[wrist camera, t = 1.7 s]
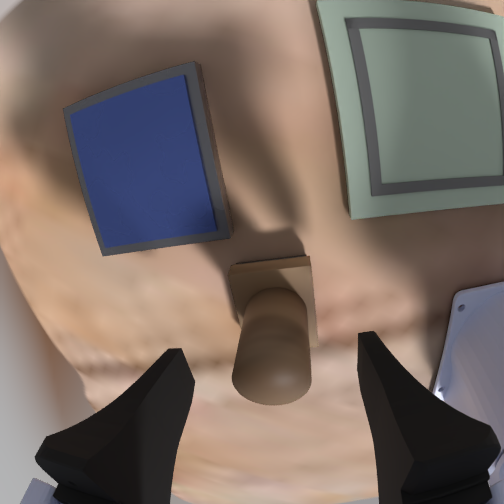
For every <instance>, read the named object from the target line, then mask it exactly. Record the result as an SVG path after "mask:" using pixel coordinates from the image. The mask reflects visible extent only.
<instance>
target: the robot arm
mask: <svg viewBox="0 0 504 504" xmlns="http://www.w3.org/2000/svg"><path fill="white" fill-rule="evenodd" d="M460 305H462V306H461V307H460V308H458V307H459V306H460ZM357 371H358V378H359V384H360V391H361V395H362V399H363V402H364V406H365V410H366V414H367V417H368V421H369V425H370V429H371V433H372V437H373V442H374V450H375V458H376V467H377V478H378V492H379V504H504V282H499V283H495V284H490V285H485V286H480V287H476V288H471V289H466V290H461V291H459V292H457V293H456V295H455V296H454V299H453V304H452V310H451V316H450V321H449V326H448V331H447V336H446V341H445V346H444V350H443V354H442V358H441V362H440V366H439V370H438V374H437V378H436V381H435V385H434V389H433V392H432V393H431V392H430V391H429V390H428V389H426V388H425V387H424V386H423V385H422V384H421V383H419V382H418V381H417V380H416V379H415V378H414V377H413V376H412V375H411V374H410V373H409V372H408V371H407V370H406V369H405V368H404V367H403V366H402V365H401V364H400V362H399V361H398V360H397V359H396V358H395V357H394V356H393V355H392V353H391V352H390V351H389V350H388V348H387V347H386V346H385V345H384V343H383V342H382V341H381V340H380V338H379V337H378V335H377V334H376V333H375V332H374V331H369V332H362V333H358V363H357ZM194 386H195V380H194V378H193V375H192V373H191V371H190V368H189V366H188V363H187V361H186V358H185V356H184V353H183V351H182V348H173V349H168V350H167V351H166V352H164V353H163V354H162V355H161V357H160V358H159V359H158V360H157V361H156V362H155V363H154V364H153V365H152V366H151V367H150V368H149V369H148V370H147V371H146V372H145V373H144V374H143V375H142V376H141V377H140V378H139V379H138V380H137V381H136V382H135V383H134V384H132V385H131V386H130V387H129V388H128V389H127V390H126V391H125V392H124V393H123V394H121V395H120V396H119V397H118V398H117V399H115V400H114V401H113V402H111V403H110V404H109V405H107V406H106V407H105V408H103V409H102V410H100V411H98V412H97V413H95V414H94V415H92V416H90V417H89V418H88V419H85V420H84V421H82V422H80V423H78V424H76V425H74V426H72V427H70V428H68V429H65V430H63V431H60V432H58V433H55V434H52V435H50V436H46V438H45V440H44V441H43V443H42V445H41V447H40V448H39V450H38V452H37V454H36V456H35V460H36V462H37V464H38V465H39V466H40V467H41V468H42V469H43V470H44V471H45V472H46V473H47V474H48V475H50V476H51V477H52V478H53V479H54V480H55V481H56V482H57V483H59V484H58V486H57V488H55V487H53V486H52V485H50V484H48V483H45V482H43V481H41V480H38V479H36V478H33V479H32V481H31V483H30V485H29V487H28V489H27V491H26V493H25V495H24V497H23V499H22V501H21V503H20V504H170V497H171V486H172V479H173V471H174V465H175V459H176V454H177V449H178V445H179V442H180V439H181V435H182V432H183V429H184V426H185V423H186V420H187V416H188V413H189V410H190V407H191V403H192V398H193V393H194ZM443 400H444V401H445V402H444V401H443ZM488 481H489V484H490V487H489V484H488Z"/></svg>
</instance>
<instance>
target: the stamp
mask: <svg viewBox="0 0 504 504" xmlns="http://www.w3.org/2000/svg"><path fill="white" fill-rule="evenodd" d="M228 278H229V282H230V286H231V290H232V294H233V298H234V302H235V306H236V311H237V315H238V319H239V323H240V327H241V334H240V339H239V344H238V349H237V354H236V359H235V363H234V368H233V373H232V382H233V385H234V387H235V389H236V390H237V391H238V392H239V393H240V394H241V395H242V396H243V397H245V398H246V399H248V400H250V401H252V402H255V403H259V404H263V405H283V404H288V403H291V402H294V401H296V400H298V399H299V398H301V397H302V396H304V395H305V394H306V393H307V391H308V390H309V388H310V386H311V360H310V348H312V347H319V345H318V333H317V321H316V310H315V299H314V289H313V280H312V270H311V262H310V256H306V255H302V256H294V257H285V258H277V259H269V260H260V261H252V262H243V263H236V265H231V267H230V270H229V273H228Z"/></svg>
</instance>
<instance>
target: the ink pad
mask: <svg viewBox="0 0 504 504" xmlns="http://www.w3.org/2000/svg"><path fill="white" fill-rule="evenodd" d="M63 111H64V117H65V122H66V127H67V132H68V136H69V141H70V145H71V150H72V154H73V158H74V162H75V166H76V170H77V174H78V178H79V182H80V185H81V189H82V193H83V196H84V200H85V203H86V206H87V210H88V213H89V216H90V220H91V223H92V226H93V229H94V232H95V235H96V238H97V241H98V244H99V247H100V250H101V253H102V256H109V255H116V254H123V253H130V252H136V251H143V250H150V249H157V248H164V247H171V246H178V245H186V244H193V243H200V242H207V241H215V240H222V239H229V238H231V236H232V234H233V232H234V228H233V223H232V219H231V214H230V209H229V204H228V199H227V195H226V190H225V185H224V180H223V175H222V170H221V165H220V161H219V156H218V151H217V146H216V141H215V136H214V131H213V126H212V121H211V116H210V111H209V106H208V101H207V96H206V91H205V86H204V80H203V75H202V70H201V65H200V64H199V63H197V62H195V61H193V62H190V63H186V64H182V65H179V66H175V67H172V68H168V69H165V70H162V71H159V72H155V73H152V74H149V75H146V76H143V77H140V78H137V79H134V80H132V81H129V82H126V83H123V84H121V85H118V86H115V87H113V88H110V89H107V90H105V91H102V92H100V93H97V94H95V95H93V96H90V97H88V98H86V99H83V100H81V101H79V102H77V103H74V104H72V105H70V106H68V107H66V108H63Z"/></svg>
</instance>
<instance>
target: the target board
mask: <svg viewBox="0 0 504 504" xmlns="http://www.w3.org/2000/svg"><path fill="white" fill-rule="evenodd" d="M316 8H317V12H318V16H319V20H320V25H321V29H322V34H323V38H324V43H325V47H326V52H327V57H328V62H329V67H330V73H331V78H332V84H333V89H334V95H335V101H336V107H337V114H338V120H339V127H340V134H341V142H342V149H343V157H344V166H345V175H346V184H347V194H348V205H349V216H350V218H351V219H352V220H354V219H363V218H371V217H380V216H389V215H398V214H407V213H416V212H425V211H435V210H444V209H454V208H464V207H474V206H484V205H494V204H504V17H503V16H499V15H495V14H491V13H486V12H482V11H477V10H472V9H467V8H461V7H456V6H449V5H443V4H435V3H427V2H417V1H405V0H318V1H317V2H316Z"/></svg>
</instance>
